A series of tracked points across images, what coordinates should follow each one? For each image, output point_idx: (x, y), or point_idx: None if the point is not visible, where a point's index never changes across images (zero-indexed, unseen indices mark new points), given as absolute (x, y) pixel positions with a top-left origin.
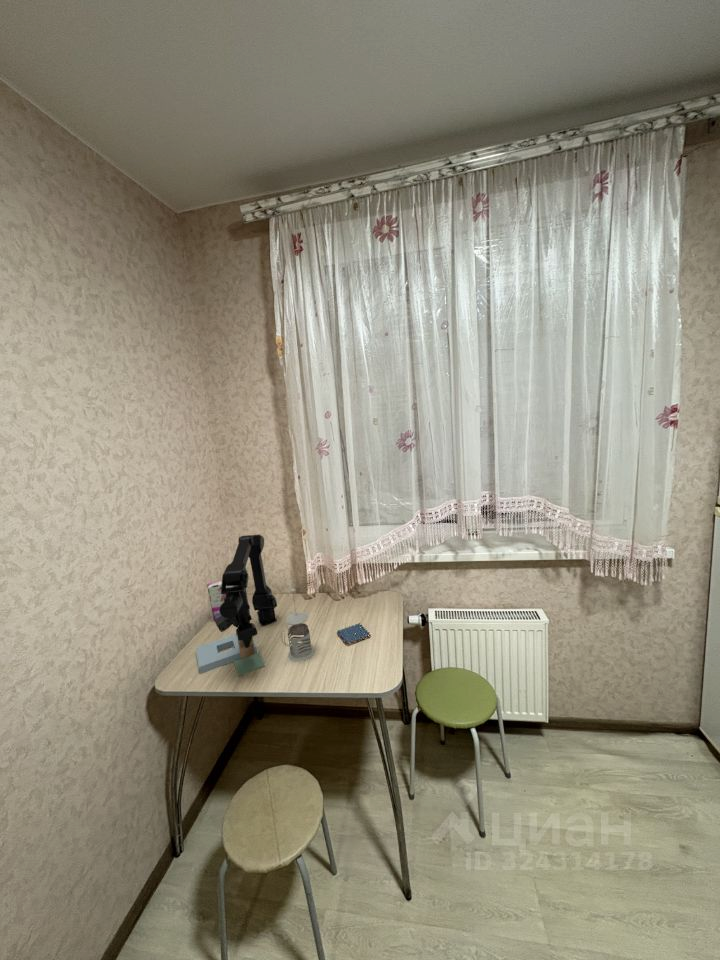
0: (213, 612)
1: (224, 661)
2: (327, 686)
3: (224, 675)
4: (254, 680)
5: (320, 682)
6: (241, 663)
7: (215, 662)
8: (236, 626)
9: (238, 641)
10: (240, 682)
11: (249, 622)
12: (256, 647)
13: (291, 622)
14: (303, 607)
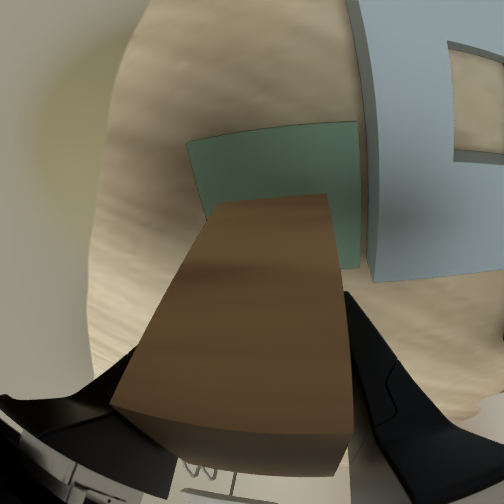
0: None
1: (363, 62)
2: (100, 360)
3: (232, 57)
4: (134, 219)
5: (111, 358)
6: (302, 165)
7: (355, 2)
8: (388, 470)
9: (261, 285)
10: (135, 155)
11: (352, 493)
12: (372, 279)
13: (189, 498)
14: (482, 390)
